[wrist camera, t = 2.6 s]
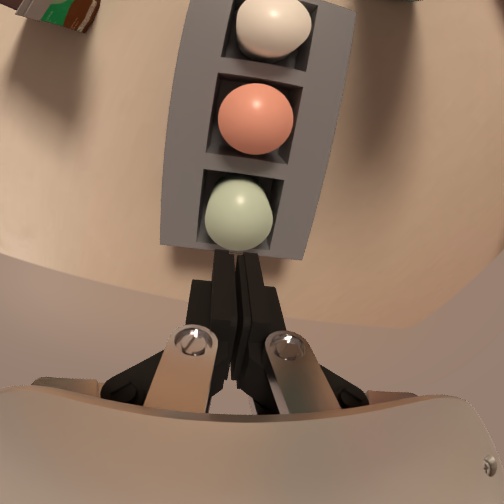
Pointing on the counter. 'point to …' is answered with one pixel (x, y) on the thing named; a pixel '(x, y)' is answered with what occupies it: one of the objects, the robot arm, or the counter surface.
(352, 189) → the counter surface
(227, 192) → the button sage
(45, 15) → the food container
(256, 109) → the button coral
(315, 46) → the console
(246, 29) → the button ivory
